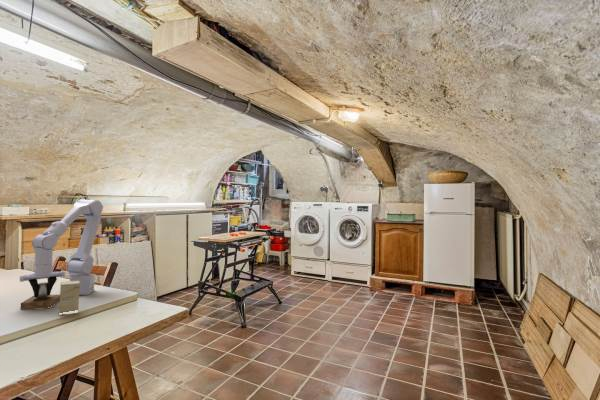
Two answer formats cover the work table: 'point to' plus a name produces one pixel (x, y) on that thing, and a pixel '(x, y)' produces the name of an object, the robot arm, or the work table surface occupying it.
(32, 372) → the work table surface
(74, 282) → the skincare box
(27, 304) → the socket block
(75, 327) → the work table surface
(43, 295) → the pin
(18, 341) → the work table surface
